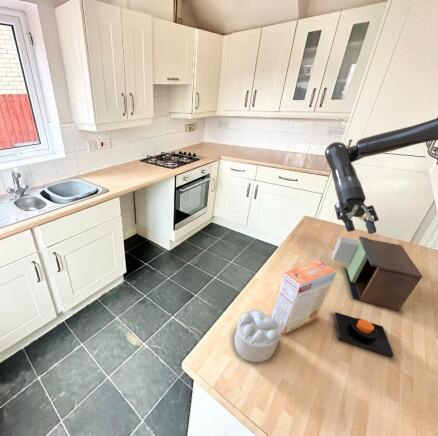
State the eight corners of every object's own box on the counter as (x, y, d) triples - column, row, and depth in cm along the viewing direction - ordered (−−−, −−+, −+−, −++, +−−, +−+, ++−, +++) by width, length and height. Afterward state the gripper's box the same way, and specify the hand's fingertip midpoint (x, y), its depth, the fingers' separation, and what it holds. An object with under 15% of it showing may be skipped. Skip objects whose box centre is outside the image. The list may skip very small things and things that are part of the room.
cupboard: (381, 279, 94) (401, 244, 86) (397, 313, 80) (423, 275, 72) (343, 269, 99) (359, 236, 91) (352, 300, 85) (372, 263, 77)
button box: (379, 331, 74) (385, 322, 72) (390, 359, 67) (396, 350, 65) (332, 316, 79) (337, 307, 77) (337, 341, 72) (342, 332, 70)
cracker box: (299, 307, 83) (318, 258, 73) (315, 321, 78) (339, 271, 68) (267, 320, 78) (283, 270, 68) (282, 336, 73) (302, 285, 63)
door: (348, 264, 100) (362, 236, 93) (354, 282, 90) (370, 253, 84) (329, 259, 103) (341, 232, 96) (333, 277, 93) (346, 248, 87)
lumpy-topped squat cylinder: (280, 342, 72) (288, 322, 68) (260, 373, 64) (267, 353, 60) (247, 320, 79) (252, 301, 74) (225, 346, 71) (229, 326, 67)
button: (369, 326, 72) (372, 322, 71) (373, 335, 69) (375, 331, 68) (354, 321, 73) (357, 317, 73) (357, 330, 71) (359, 326, 70)
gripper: (341, 183, 85) (354, 227, 79) (375, 187, 87) (391, 230, 81) (323, 193, 92) (334, 233, 86) (356, 197, 94) (369, 236, 88)
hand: (362, 232), depth 84 cm, fingers open, 8 cm apart
